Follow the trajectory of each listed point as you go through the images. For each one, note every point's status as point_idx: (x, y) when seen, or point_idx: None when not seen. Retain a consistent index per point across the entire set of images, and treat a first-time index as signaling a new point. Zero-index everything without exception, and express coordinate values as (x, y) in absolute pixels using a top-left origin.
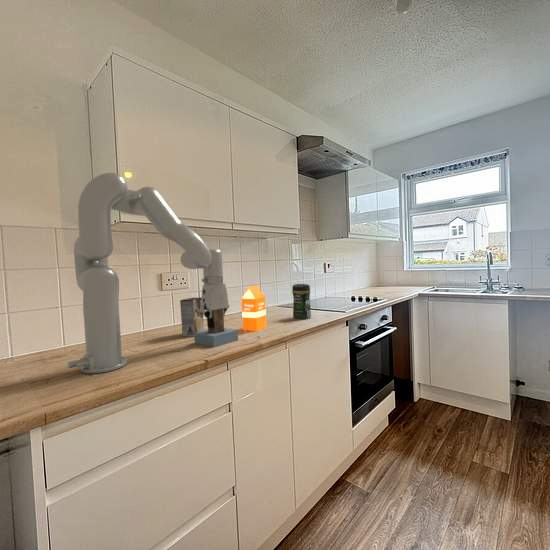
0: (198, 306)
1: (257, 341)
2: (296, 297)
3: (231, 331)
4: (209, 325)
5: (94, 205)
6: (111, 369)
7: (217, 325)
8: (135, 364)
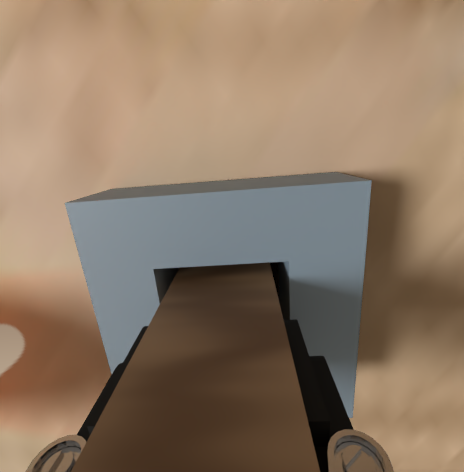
0: None
1: (20, 9)
2: None
3: (138, 206)
4: (323, 362)
5: None
6: None
7: (245, 316)
8: None
